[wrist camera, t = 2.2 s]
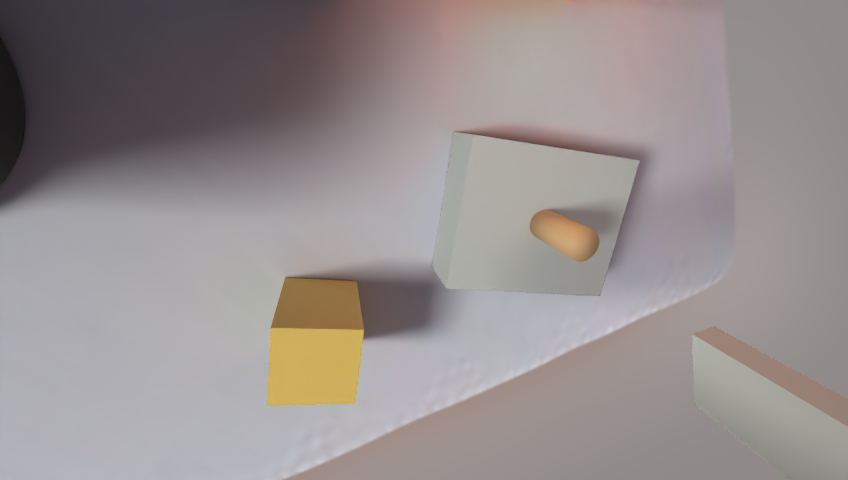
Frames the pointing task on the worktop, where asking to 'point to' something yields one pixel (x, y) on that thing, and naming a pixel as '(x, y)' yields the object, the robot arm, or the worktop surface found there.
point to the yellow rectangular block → (315, 343)
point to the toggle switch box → (529, 217)
